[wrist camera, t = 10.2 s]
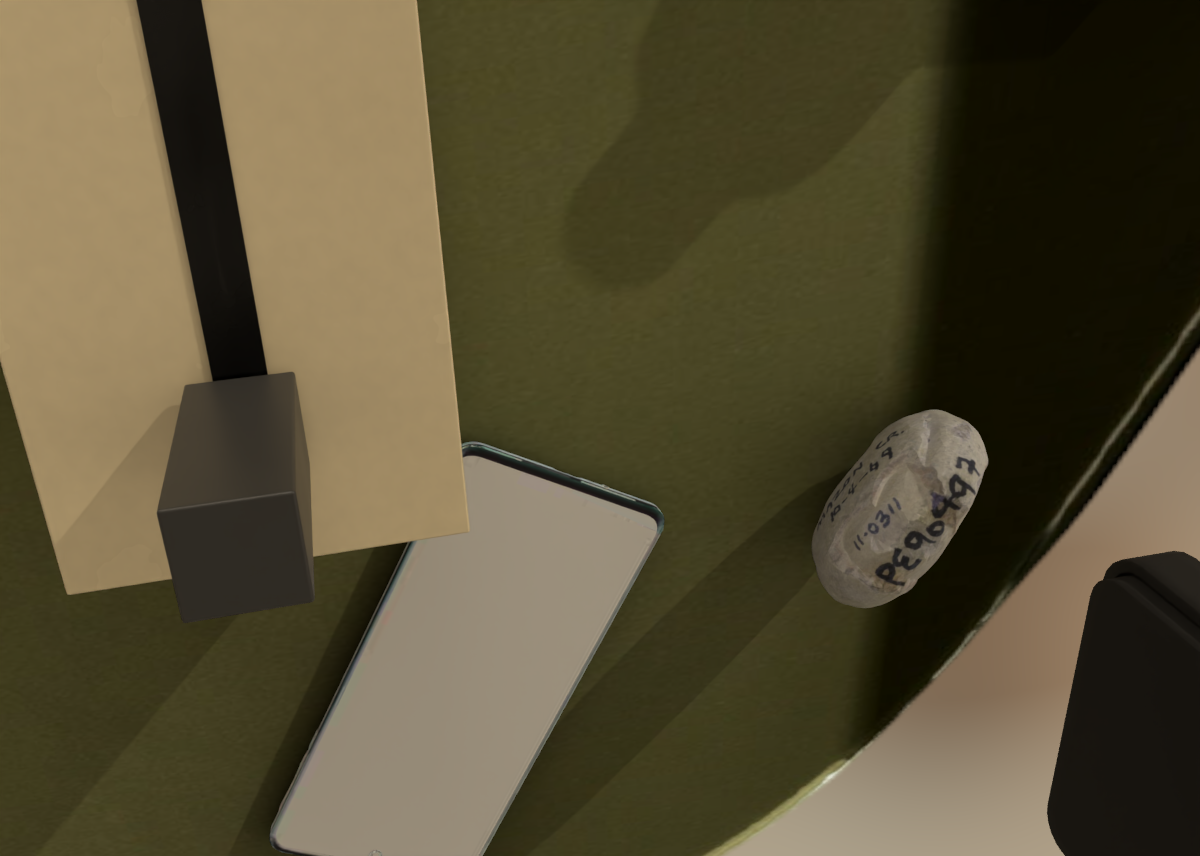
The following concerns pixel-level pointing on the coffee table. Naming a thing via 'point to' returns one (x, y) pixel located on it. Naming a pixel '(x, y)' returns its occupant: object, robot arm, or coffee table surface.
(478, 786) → the smartphone
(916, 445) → the fossil
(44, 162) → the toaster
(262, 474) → the slider
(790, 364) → the coffee table surface
